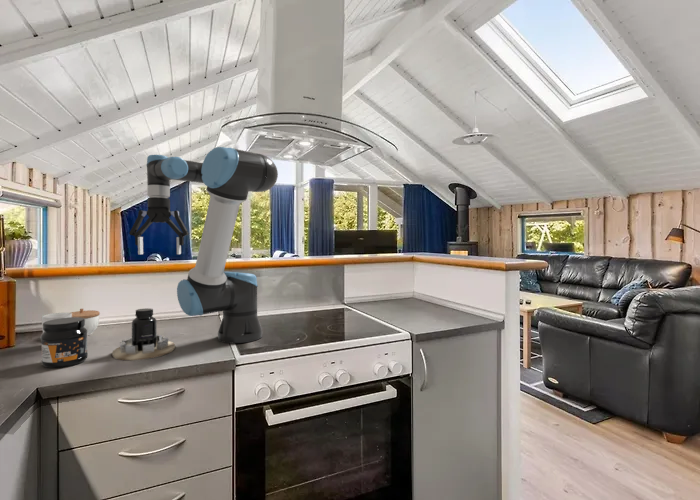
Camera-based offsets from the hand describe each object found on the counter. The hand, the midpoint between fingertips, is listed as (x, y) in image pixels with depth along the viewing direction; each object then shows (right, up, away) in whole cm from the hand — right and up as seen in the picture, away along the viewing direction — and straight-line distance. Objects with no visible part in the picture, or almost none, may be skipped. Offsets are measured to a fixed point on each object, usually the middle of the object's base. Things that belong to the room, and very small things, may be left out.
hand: (159, 254), depth 143 cm
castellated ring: (+8, -30, -25) cm, 40 cm away
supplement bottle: (+8, -29, -25) cm, 39 cm away
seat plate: (+8, -30, -25) cm, 40 cm away
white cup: (-24, -30, -19) cm, 42 cm away
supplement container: (-9, -31, -35) cm, 48 cm away
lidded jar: (-25, -29, -6) cm, 39 cm away
